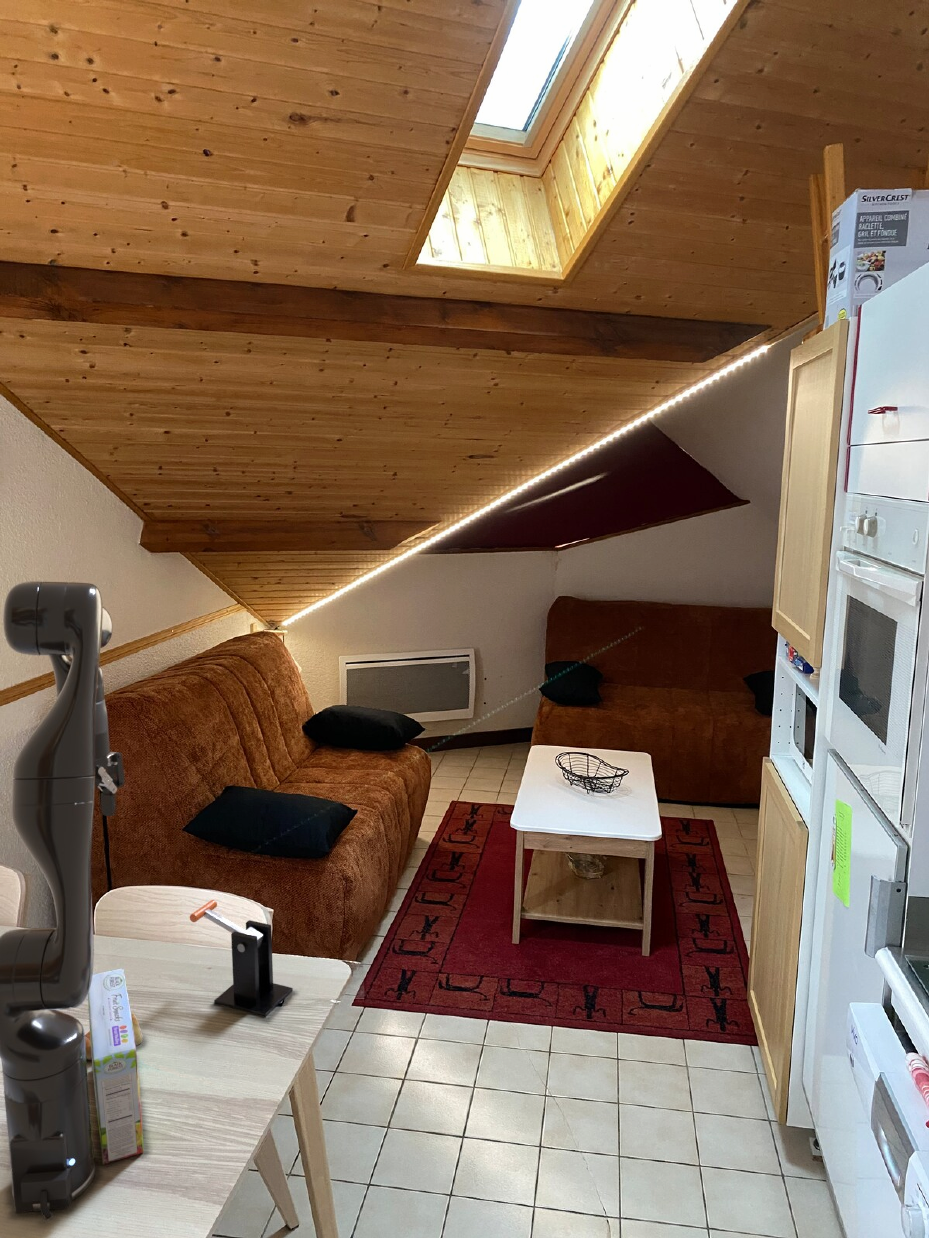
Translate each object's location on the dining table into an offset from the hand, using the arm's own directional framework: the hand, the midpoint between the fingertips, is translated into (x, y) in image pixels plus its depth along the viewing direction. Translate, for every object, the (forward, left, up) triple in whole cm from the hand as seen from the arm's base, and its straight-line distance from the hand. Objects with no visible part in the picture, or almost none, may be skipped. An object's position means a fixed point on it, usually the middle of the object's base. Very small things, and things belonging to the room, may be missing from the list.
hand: (89, 823), depth 148 cm
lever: (-3, -22, -19) cm, 29 cm away
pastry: (-15, -6, -30) cm, 34 cm away
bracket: (-5, -26, -30) cm, 40 cm away
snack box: (-29, -10, -30) cm, 43 cm away
